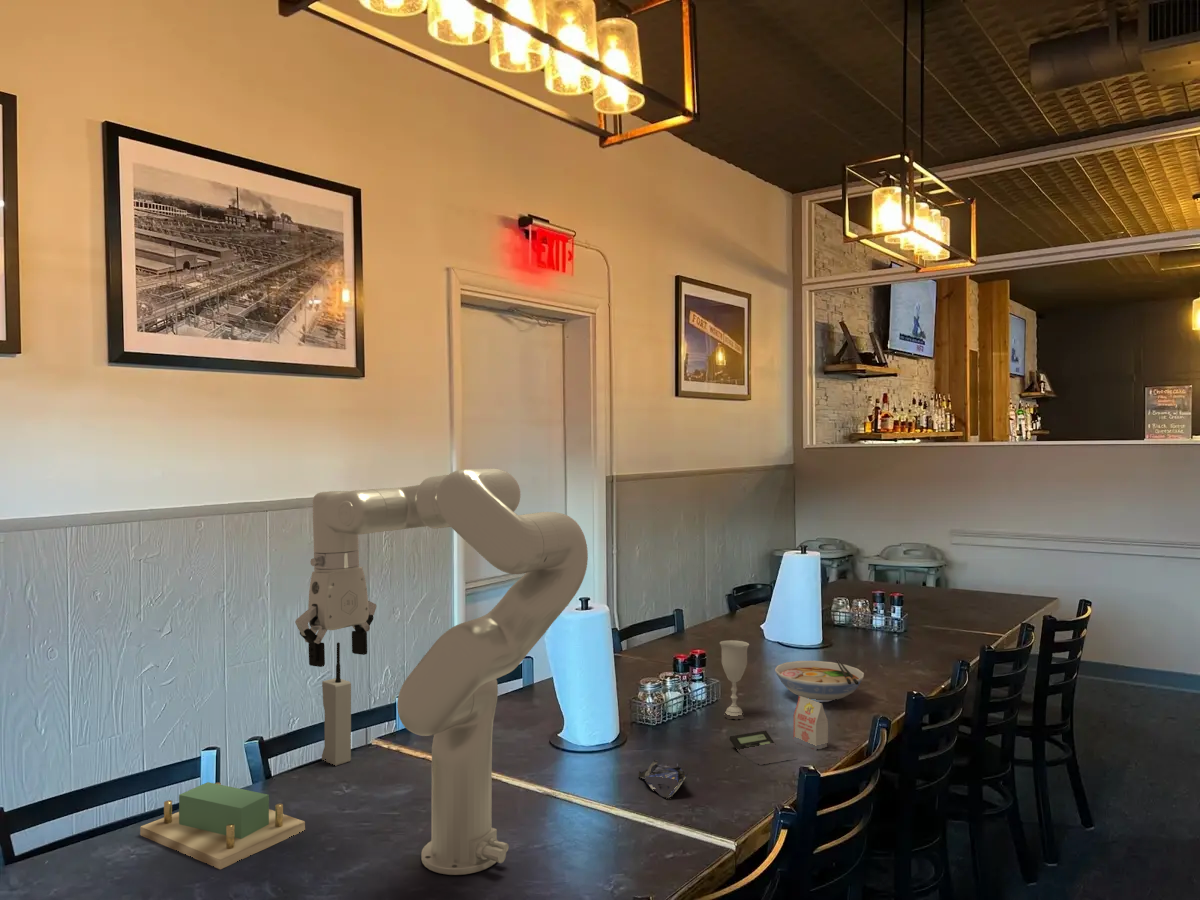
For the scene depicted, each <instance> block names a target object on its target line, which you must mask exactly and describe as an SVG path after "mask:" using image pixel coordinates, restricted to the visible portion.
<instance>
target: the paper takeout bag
mask: <svg viewBox="0 0 1200 900" xmlns="http://www.w3.org/2000/svg"><path fill="white" fill-rule="evenodd" d="M823 704H824V703H819V702H816V701H814V700H811V699H808V698H805V697H802V696H798V698H797V703H796V706H795V710H794V711H793V712H794V713H793V738H794V737H796V738H799V739H801V740H803V741H805V742H808V743H810V744H813V745H815V746H817V745H821V744H825V743H828V744H829V720H828V718H827V717H828V716H827V715H826V712H825V709H824V706H823Z"/></svg>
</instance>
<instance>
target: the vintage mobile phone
mask: <svg viewBox="0 0 1200 900" xmlns="http://www.w3.org/2000/svg"><path fill="white" fill-rule="evenodd" d="M340 651H341V645H340V642H336V665H335V678H331V679H326V680H322V681H321V685H322V686H321V688H322V689H321V690H322V705H323V710H324V746H323V751H322V754H321V760H322V761H323V760H324V761H323V762H325V761H326V762H325V763H327V764H329V763H330V765H332V764H333V765H332V766H334V765H335V767H337V766H340V765H342V764H347V763H349V762H350V761H351V760H352V683H351V681H349V680H346V679H342V678H341V660H340V659H341V656H340V654H341V652H340ZM325 759H326V760H325Z"/></svg>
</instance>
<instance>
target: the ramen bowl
mask: <svg viewBox="0 0 1200 900" xmlns="http://www.w3.org/2000/svg"><path fill="white" fill-rule="evenodd" d="M774 671H775V674H776V675H777V677H778V678H779V680H780V681H781V684H783V685H784V687H785V688H786V689H787V690H788V691H790V692H791V693H792V694H794V695H796V696H798V697H799V696H802V697H805V698H809V699H816V700H834V701H836V700H835V699H837V700H841V699H844V698H846V697H848V696H849V695H851V694H853V693H854V692H855V691H856V690H857V689H858V687H859V686H860V684H861V683H862V681H863V679H864V677H865V676H864V675H865V673H864V672H863V671H862V670H860V669H859V668H857V667H854V666H851V665H848V664H845V663H844V664H843V662H842V661H840V660H839V659H835V662H834V661H822V660H821V661H820V660H794V661H787V662H783V663H781V664H778V665H776V667H775V669H774Z"/></svg>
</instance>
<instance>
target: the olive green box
mask: <svg viewBox="0 0 1200 900" xmlns="http://www.w3.org/2000/svg"><path fill="white" fill-rule="evenodd" d="M215 783H216V782H209V781H207V782H205V783H203V784H201V785H198V786H196V787H194V788H192V789H189V790H187V791H185V792H181V793H180V794H178V805H179V806H178V812H179V824H180V825H185V826H189V827H193V828H197V829H201V830H206V831H210V832H214V833H218V834H222V835H226V826H227V825H228V824H234V825H235V838H239V839H242V838H244V837H246V836H248V835H250V834H252V833H253V832H255V831H257V830H259V829H261V828H263V827H264V826H266V825H268V824H269V809H270V794H267V793H262V792H258V791H253V790H248V789H242V788H239V787H232V786H229V785H223V784H221V785H219V784H215Z"/></svg>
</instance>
